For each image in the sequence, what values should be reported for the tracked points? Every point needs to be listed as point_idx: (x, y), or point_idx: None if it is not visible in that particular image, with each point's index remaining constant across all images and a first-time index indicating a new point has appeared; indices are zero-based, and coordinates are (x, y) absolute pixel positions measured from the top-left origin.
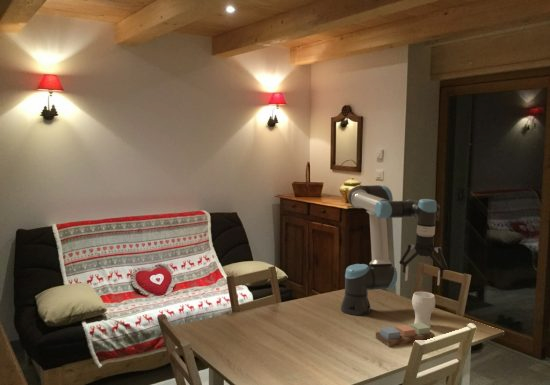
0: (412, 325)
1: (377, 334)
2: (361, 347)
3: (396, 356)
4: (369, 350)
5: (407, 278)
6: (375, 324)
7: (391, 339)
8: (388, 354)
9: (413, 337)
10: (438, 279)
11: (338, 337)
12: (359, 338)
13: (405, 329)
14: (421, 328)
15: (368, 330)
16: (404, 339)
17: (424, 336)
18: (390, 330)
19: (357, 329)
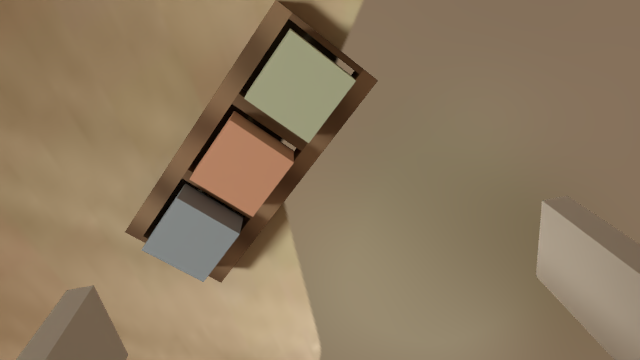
0: (258, 108)
1: (140, 238)
2: (143, 324)
3: (282, 318)
4: (180, 329)
5: (92, 306)
6: (26, 49)
7: (222, 260)
8: (252, 319)
9: (296, 184)
10: (609, 336)
11: (11, 300)
12: (84, 261)
13: (249, 190)
14: (317, 128)
15: (55, 156)
16: (267, 221)
17: (336, 132)
18: (193, 244)
19: (6, 176)
